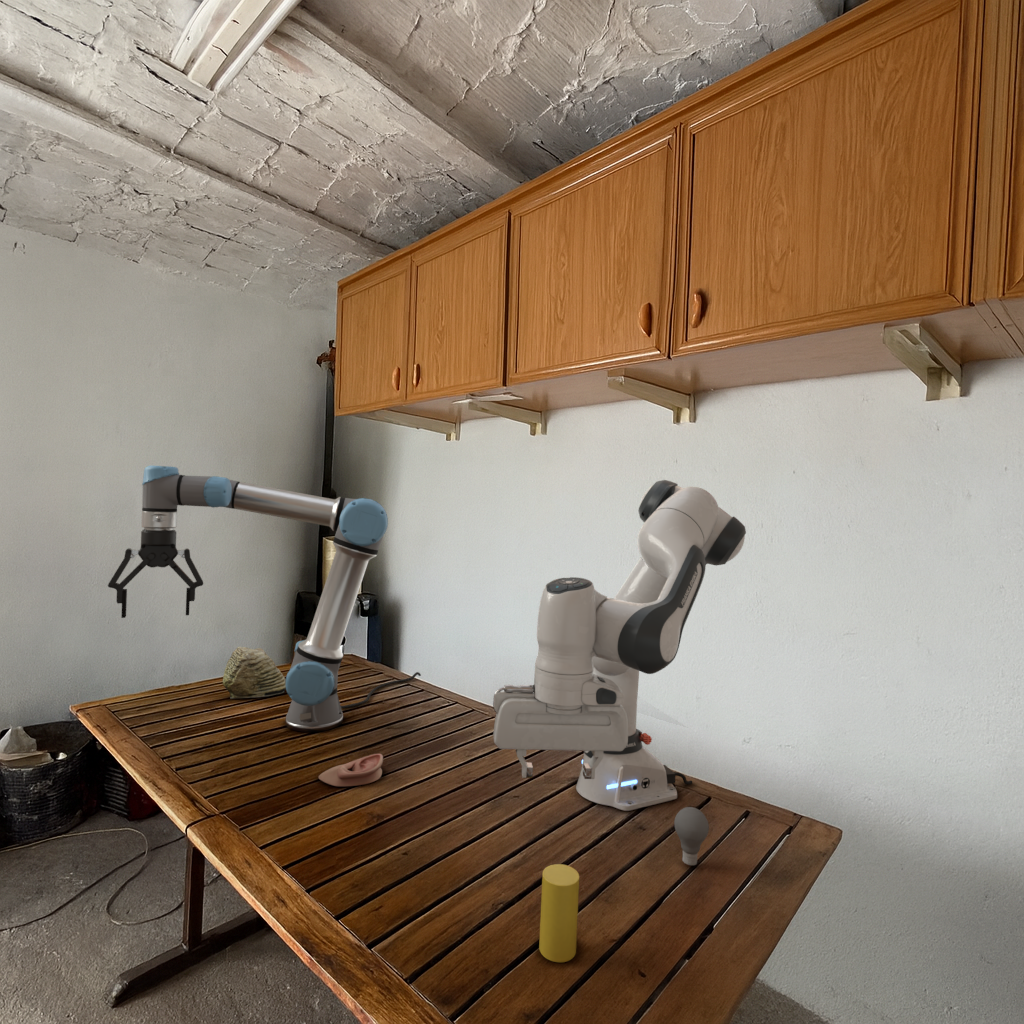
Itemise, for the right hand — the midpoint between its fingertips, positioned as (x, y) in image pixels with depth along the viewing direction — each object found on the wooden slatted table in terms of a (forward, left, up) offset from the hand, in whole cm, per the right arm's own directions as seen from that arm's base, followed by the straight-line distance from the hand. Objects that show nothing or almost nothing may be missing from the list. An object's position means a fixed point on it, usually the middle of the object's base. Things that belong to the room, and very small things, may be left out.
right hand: (557, 777), depth 96 cm
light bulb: (-30, -9, -23) cm, 39 cm away
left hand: (+72, -85, +9) cm, 112 cm away
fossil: (+52, -123, -23) cm, 136 cm away
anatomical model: (+26, -58, -23) cm, 68 cm away
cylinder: (+1, +5, -23) cm, 23 cm away
